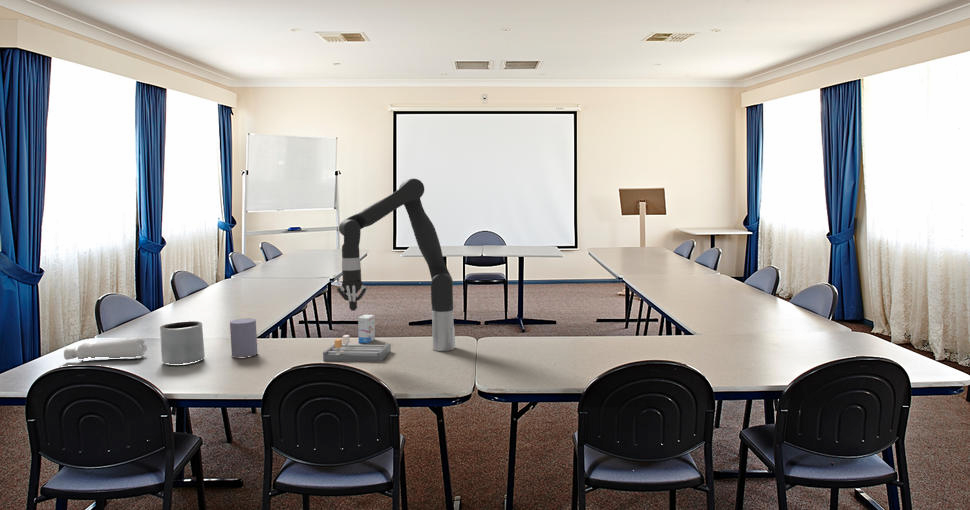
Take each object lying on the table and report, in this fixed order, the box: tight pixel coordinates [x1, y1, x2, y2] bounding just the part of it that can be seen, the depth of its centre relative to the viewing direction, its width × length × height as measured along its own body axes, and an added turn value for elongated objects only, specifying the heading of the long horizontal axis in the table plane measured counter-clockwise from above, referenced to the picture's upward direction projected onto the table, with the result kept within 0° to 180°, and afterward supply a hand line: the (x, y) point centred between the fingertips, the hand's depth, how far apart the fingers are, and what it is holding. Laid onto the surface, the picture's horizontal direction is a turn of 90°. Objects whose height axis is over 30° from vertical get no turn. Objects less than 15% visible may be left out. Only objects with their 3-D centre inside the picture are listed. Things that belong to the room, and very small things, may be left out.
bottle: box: [63, 336, 148, 361], centre depth 269 cm, size 9×9×30 cm
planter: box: [159, 320, 205, 364], centre depth 265 cm, size 16×16×16 cm
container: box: [229, 318, 259, 357], centre depth 273 cm, size 10×10×15 cm
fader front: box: [334, 338, 343, 351], centre depth 267 cm, size 2×3×5 cm, turn 173°
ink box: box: [357, 314, 376, 344], centre depth 295 cm, size 9×5×12 cm, turn 168°
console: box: [322, 343, 392, 363], centre depth 270 cm, size 24×16×4 cm, turn 83°
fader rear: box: [342, 334, 351, 347], centre depth 274 cm, size 2×3×5 cm, turn 173°
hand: (353, 310), depth 264 cm, fingers closed
